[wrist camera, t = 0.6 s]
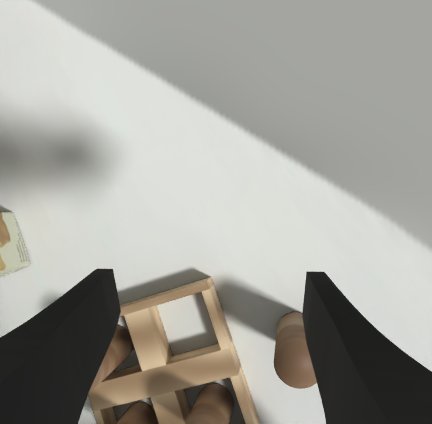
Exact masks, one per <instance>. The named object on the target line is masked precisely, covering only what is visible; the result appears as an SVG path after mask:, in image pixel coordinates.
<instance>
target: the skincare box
mask: <svg viewBox="0 0 432 424" xmlns="http://www.w3.org/2000/svg"><path fill="white" fill-rule="evenodd" d="M28 265H30V261H29V258H28V255H27V251H26V248H25V245H24V242H23V239H22V236H21V233H20V230H19V228H18V225H17V222H16V219H15V217H14V214H13V212H0V277H2V276H5V275H7V274H10V273H13V272H15V271H18V270H20V269H22V268H24V267H26V266H28Z"/></svg>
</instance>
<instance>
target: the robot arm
mask: <svg viewBox="0 0 432 424" xmlns="http://www.w3.org/2000/svg"><path fill="white" fill-rule="evenodd" d="M120 313H121V309H120V304H119V299H118V293H117V288H116V283H115V278H114V273H113V269H96V270H95V271H93V272H92V273H91V274H89V275H88V276H87V277H85V278H84V279H83V280H82V281H80V282H79V283H78V284H77V285H75V286H74V287H73V288H72V289H70V290H69V291H68V292H66V293H65V294H64V295H63V296H61V297H60V298H59V299H58V300H56V301H55V302H54V303H52V304H51V305H49V306H48V307H47V308H45V309H44V310H42V311H41V312H40V313H38V314H37V315H35V316H34V317H33V318H31V319H30V320H28V321H27V322H25V323H24V324H22V325H20V326H19V327H17V328H16V329H14V330H12V331H11V332H9V333H7V334H6V335H4V336H2V337H1V338H0V424H78V421H79V418H80V415H81V412H82V409H83V406H84V403H85V401H86V398H87V396H88V393H89V391H90V388H91V386H92V384H93V382H94V379H95V377H96V375H97V373H98V370H99V368H100V366H101V364H102V361H103V359H104V357H105V355H106V352H107V350H108V348H109V346H110V343H111V341H112V339H113V336H114V333H115V330H116V327H117V323H118V320H119V316H120ZM302 316H303V323H304V331H305V337H306V343H307V347H308V351H309V354H310V358H311V362H312V366H313V369H314V373H315V377H316V380H317V384H318V388H319V392H320V395H321V399H322V403H323V408H324V412H325V418H326V424H432V372H431V371H430V370H428V369H427V368H425V367H424V366H423V365H421V364H420V363H418V362H417V361H416V360H414V359H413V358H411V357H410V356H409V355H407V354H406V353H405V352H403V351H402V350H401V349H399V348H398V347H397V346H396V345H395V344H393V343H392V342H391V341H390V340H388V339H387V338H386V337H385V336H384V335H383V334H381V333H380V332H379V331H378V330H377V329H376V328H375V327H374V326H373V325H372V324H371V323H370V322H369V321H368V320H367V319H366V318H365V317H364V316H363V315H362V314H361V313H360V312H359V311H358V310H357V309H356V308H355V307H354V306H353V305H352V304H351V303H350V302H349V300H348V299H347V298H346V297H345V296H344V295H343V294H342V292H341V291H340V290H339V289H338V288H337V287H336V285H335V284H334V283H333V282H332V281H331V279H330V278H329V277H328V276H327V275H326V274H325V272H307V274H306V284H305V294H304V304H303V314H302Z"/></svg>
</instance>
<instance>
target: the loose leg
mask: <svg viewBox="0 0 432 424" xmlns="http://www.w3.org/2000/svg"><path fill="white" fill-rule="evenodd" d="M302 314H303V313H300V312H290V313H288V314H286V315H284V316H283V317H282V318H281V319H280V321H279V323H278V326H277V334H276V345H275V355H274V368H275V371H276V373H277V375H278V377H279V378H280V379H281V380H282V381H283V382H284V383H285V384H287V385H289V386H291V387H294V388H300V389H301V388H308V387H311V386H313V385H314V384H316V383H317V380H316V377H315V373H314V369H313V366H312V362H311V358H310V354H309V351H308V347H307V343H306V337H305V331H304V323H303V316H302Z"/></svg>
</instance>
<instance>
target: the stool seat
mask: <svg viewBox="0 0 432 424" xmlns="http://www.w3.org/2000/svg"><path fill="white" fill-rule="evenodd" d="M198 292H202V294H203V297H204V300H205V303H206V306H207V309H208V312H209V315H210V318H211V321H212V324H213V327H214V330H215V333H216V336H217V339H218V342H219V344H215V345H212V346H208V347H204V348H201V349H197V350H193V351H190V352H186V353H182V354H178V355H175V356H173V355H172V352H171V349H170V346H169V343H168V340H167V336H166V333H165V330H164V327H163V324H162V321H161V318H160V315H159V312H158V309H157V306H156V305H159V304H162V303H166V302H169V301H172V300H176V299H179V298H182V297H185V296H189V295H192V294H195V293H198ZM120 309H121V313H120V316H123V315H124V317H125V320H126V323H127V326H128V329H129V331H128V330H127V329H126V328H124V327H122V326H118V325H117V327H116V330H115V333H114V336H113V339H112V341H111V343H110V346H109V348H108V350H107V352H106V355H105V357H104V359H103V361H102V364H101V366H100V368H99V370H98V373H97V375H96V377H95V379H94V382H93V384H92V386H91V388H90V391H89V393H88V396H89V400H90V403H91V406H92V409H93V412H94V416H95V419H96V422H97V424H229V423H230V419H231V415H232V412H233V408H234V399H233V396H232V394H231V393H230V391H229V390H228V389H227V388H226V387H224V386H222V385H220V384H209V385H207V386H205V387H204V388H203V389H202V390H201V391H200V393H199V395H198V398H197V400H196V402H195V404H194V406H193V408H192V410H190V407H189V404H188V401H187V398H186V395H185V392H184V389H185V388H189V387H193V386H197V385H201V384H205V383H209V382H213V381H217V380H221V379H225V378H229V377H230V378H231V381H232V384H233V387H234V390H235V393H236V396H237V399H238V402H239V405H240V408H241V411H242V414H243V417H244V420H245V423H246V424H261V423H260V420H259V418H258V415H257V412H256V409H255V406H254V403H253V400H252V397H251V394H250V391H249V388H248V385H247V382H246V379H245V376H244V373H243V370H242V367H241V364H240V361H239V358H238V355H237V352H236V349H235V346H234V343H233V340H232V337H231V334H230V331H229V328H228V325H227V322H226V319H225V316H224V313H223V310H222V307H221V304H220V301H219V298H218V296H217V293H216V290H215V287H214V284H213V281H212V278H211V277H209V278H206V279H203V280H200V281H196V282H193V283H190V284H187V285H184V286H180V287H177V288H174V289H171V290H168V291H164V292H161V293H158V294H155V295H152V296H148V297H145V298H142V299H139V300H136V301H132V302H129V303H126V304H123V305H120ZM120 316H119V317H120ZM133 347H134V348H135V351H136V354H137V357H138V360H139V363H140V365H138V366H134V367H131V368H127V369H123V370H120V371H116V372H112V371H113V370H114V369H115V368H117V367H118V366H119V365H120V364H121V363H122V362H123V361H124V360H125V359H126V358H127V357H128V356H129V355H130V354H131V352H132V350H133ZM111 372H112V373H111ZM149 397H151V400H152V404H153V407H154V408H153V407H152V406H151V405H149V404H147V403H144V402H136V403H134V404H132V405H131V406H130V407H129V408H128V410H127V411H126V412H125V413H124V415H123V416H122V417H121V418H120V420H119V421H118V422H117V419H116V416H115V413H114V410H113V406H117V405H121V404H125V403H129V402H133V401H137V400H141V399H145V398H149Z"/></svg>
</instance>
